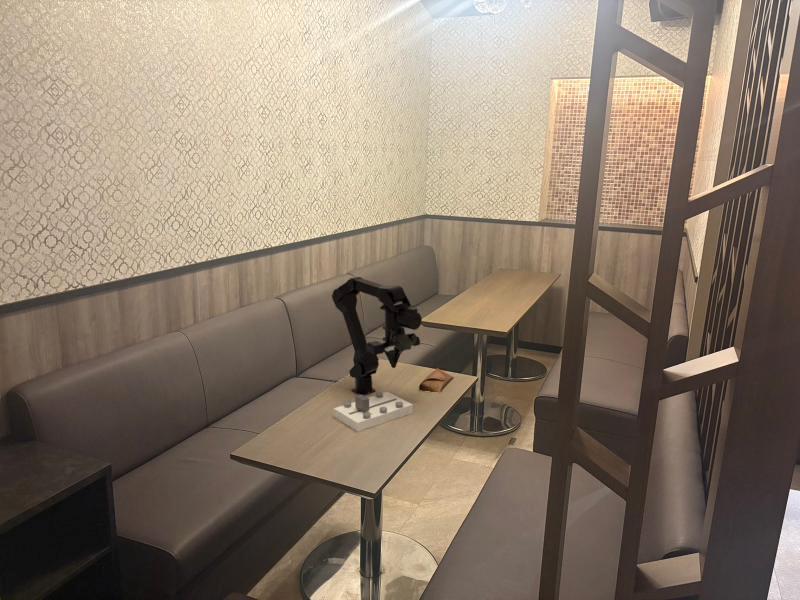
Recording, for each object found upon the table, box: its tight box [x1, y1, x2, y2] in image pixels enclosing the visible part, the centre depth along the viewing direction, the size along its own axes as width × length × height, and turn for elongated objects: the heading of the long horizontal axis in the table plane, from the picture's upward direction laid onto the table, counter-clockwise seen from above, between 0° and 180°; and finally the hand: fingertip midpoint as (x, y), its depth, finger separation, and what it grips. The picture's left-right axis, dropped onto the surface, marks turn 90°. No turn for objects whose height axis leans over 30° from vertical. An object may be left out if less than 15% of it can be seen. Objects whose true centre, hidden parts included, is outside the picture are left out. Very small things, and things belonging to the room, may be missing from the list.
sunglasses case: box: [418, 367, 455, 394], centre depth 220 cm, size 18×7×7 cm
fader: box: [354, 394, 369, 412], centre depth 190 cm, size 4×2×4 cm, turn 38°
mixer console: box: [333, 391, 414, 433], centre depth 193 cm, size 14×22×4 cm, turn 128°
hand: (393, 367), depth 200 cm, fingers closed
